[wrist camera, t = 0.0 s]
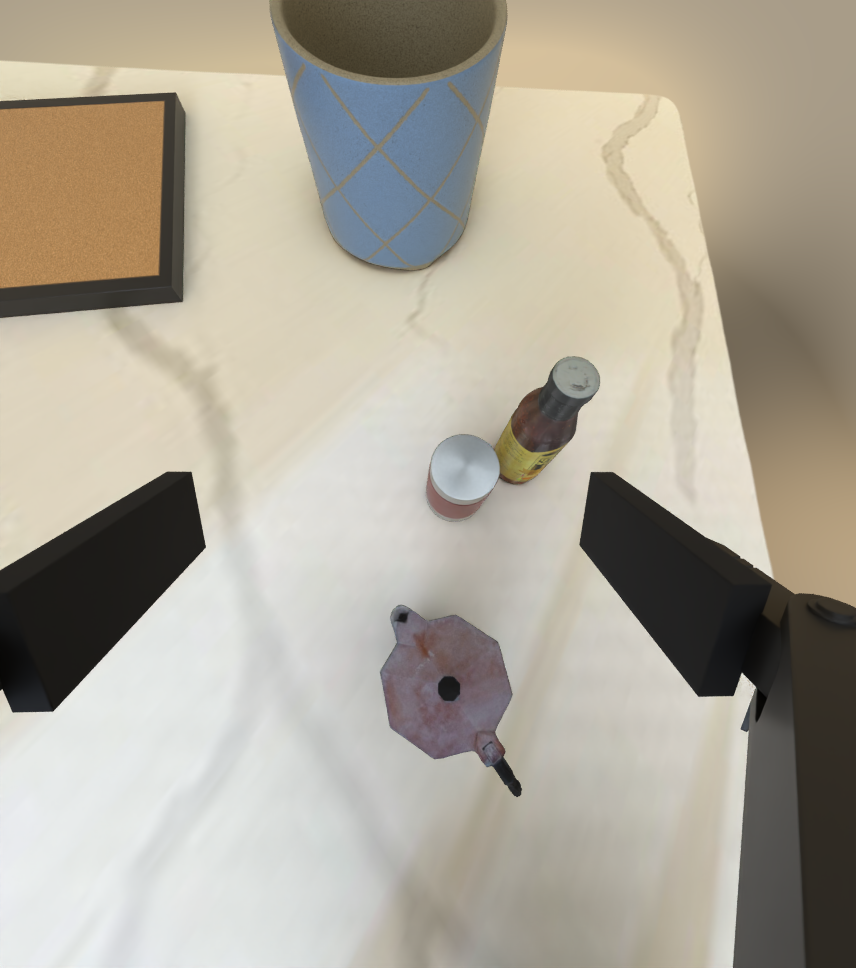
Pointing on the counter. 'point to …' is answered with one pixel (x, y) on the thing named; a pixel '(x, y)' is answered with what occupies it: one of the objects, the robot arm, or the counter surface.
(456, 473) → the tin can
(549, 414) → the sauce bottle
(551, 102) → the counter surface
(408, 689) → the moka pot
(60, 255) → the framed cork board
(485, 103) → the planter
